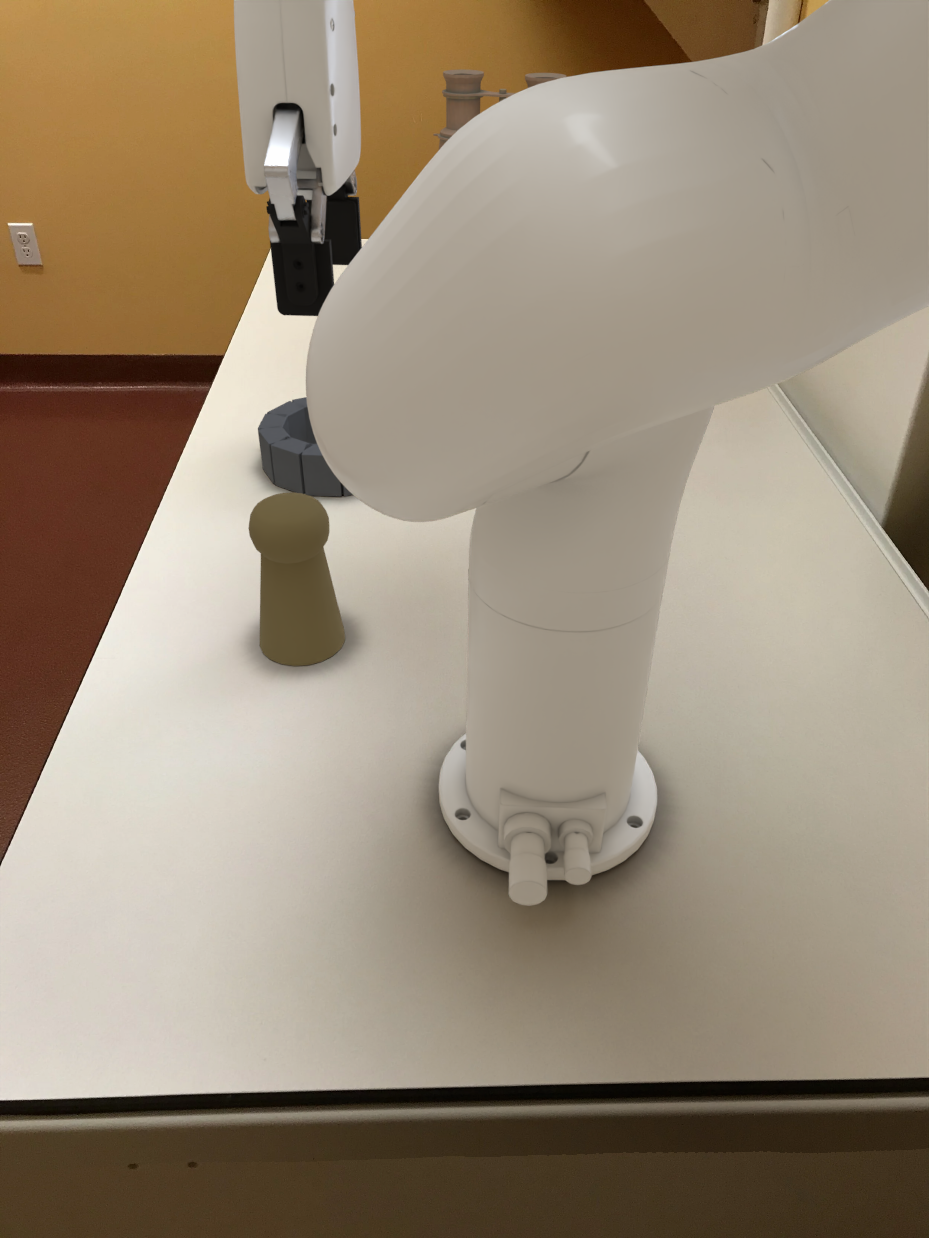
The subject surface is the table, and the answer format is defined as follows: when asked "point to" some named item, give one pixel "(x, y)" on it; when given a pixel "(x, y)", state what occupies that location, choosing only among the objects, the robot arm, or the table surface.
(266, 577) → the olive pawn
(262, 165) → the robot arm
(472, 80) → the binoculars
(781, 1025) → the table surface
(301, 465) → the segmented block ring
